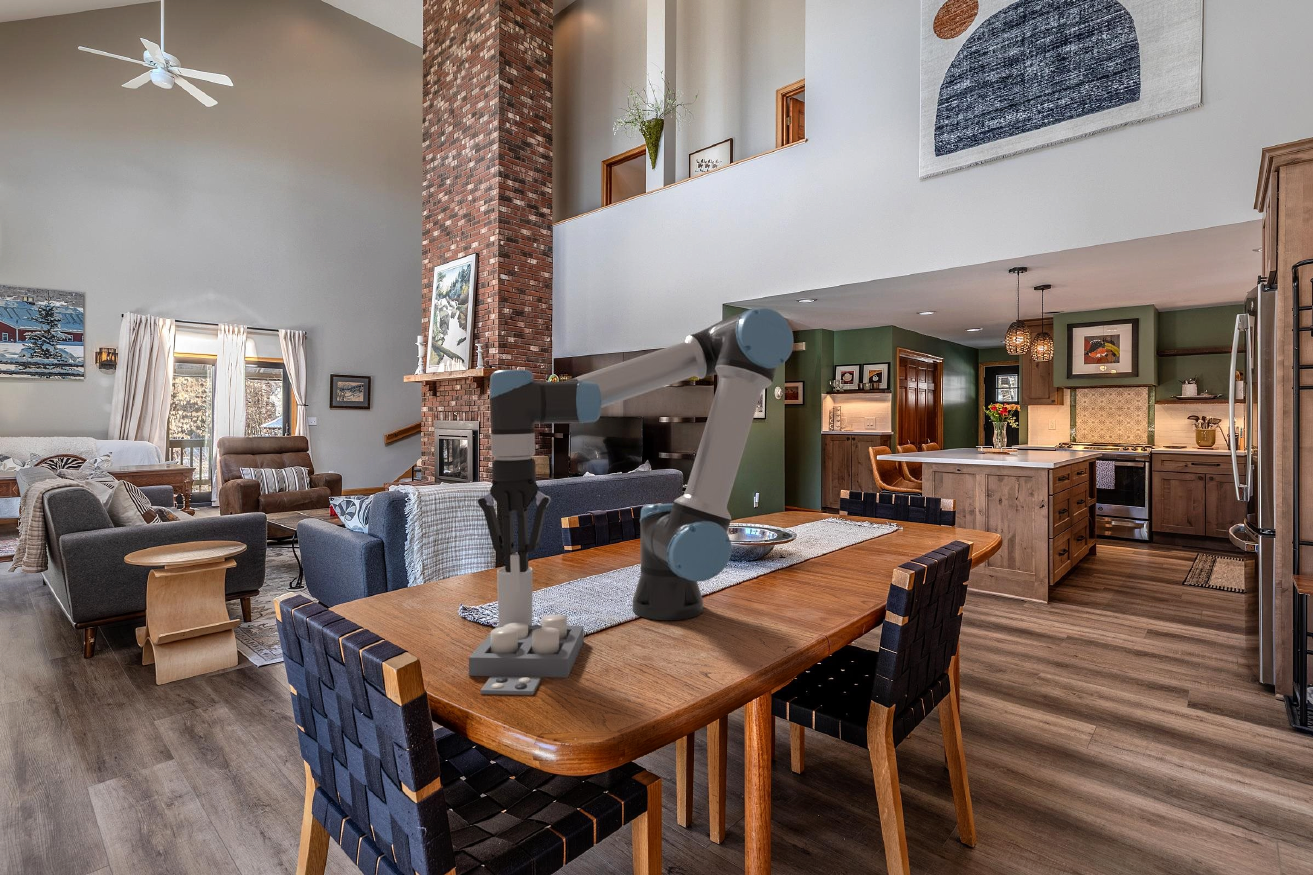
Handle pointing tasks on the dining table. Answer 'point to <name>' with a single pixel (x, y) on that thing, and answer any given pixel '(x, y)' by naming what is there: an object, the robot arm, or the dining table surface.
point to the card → (511, 685)
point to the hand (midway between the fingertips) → (517, 589)
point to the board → (528, 657)
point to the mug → (514, 598)
